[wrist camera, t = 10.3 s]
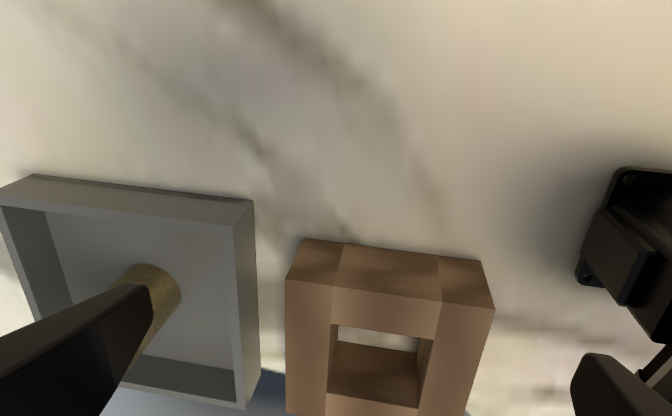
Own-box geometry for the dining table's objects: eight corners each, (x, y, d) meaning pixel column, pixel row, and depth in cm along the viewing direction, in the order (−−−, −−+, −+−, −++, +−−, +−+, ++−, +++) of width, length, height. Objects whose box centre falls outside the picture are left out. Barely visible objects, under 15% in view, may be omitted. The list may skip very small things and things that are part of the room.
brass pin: (187, 259, 24) (29, 439, 14) (197, 327, 27) (69, 522, 16) (104, 247, 25) (-106, 410, 15) (121, 315, 27) (-48, 495, 17)
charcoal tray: (253, 201, 22) (232, 226, 20) (260, 373, 28) (246, 410, 26) (33, 174, 24) (-14, 193, 21) (86, 342, 30) (55, 374, 27)
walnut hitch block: (480, 261, 22) (495, 309, 18) (447, 386, 26) (454, 444, 22) (304, 238, 23) (285, 279, 19) (301, 361, 27) (285, 412, 24)
